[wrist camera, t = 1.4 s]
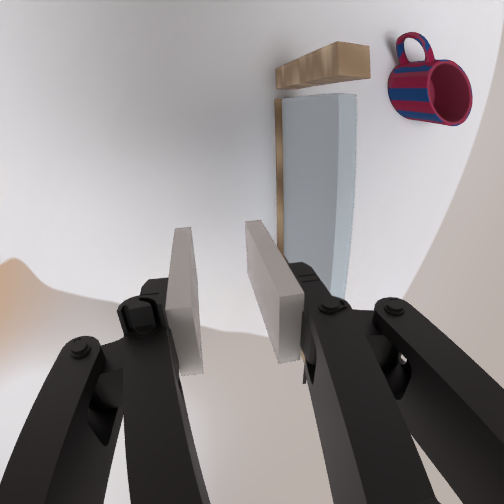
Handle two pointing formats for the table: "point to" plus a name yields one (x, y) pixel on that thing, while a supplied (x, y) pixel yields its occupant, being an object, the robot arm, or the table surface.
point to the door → (320, 183)
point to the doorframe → (306, 75)
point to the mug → (429, 87)
